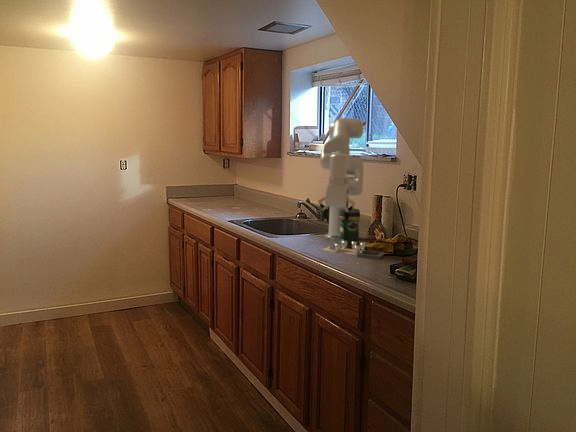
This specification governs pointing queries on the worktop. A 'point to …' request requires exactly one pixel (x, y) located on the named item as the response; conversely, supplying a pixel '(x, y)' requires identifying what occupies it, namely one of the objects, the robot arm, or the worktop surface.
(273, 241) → the worktop surface
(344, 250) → the board
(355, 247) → the spacers
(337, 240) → the nut
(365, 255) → the tray
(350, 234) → the coffee jar
